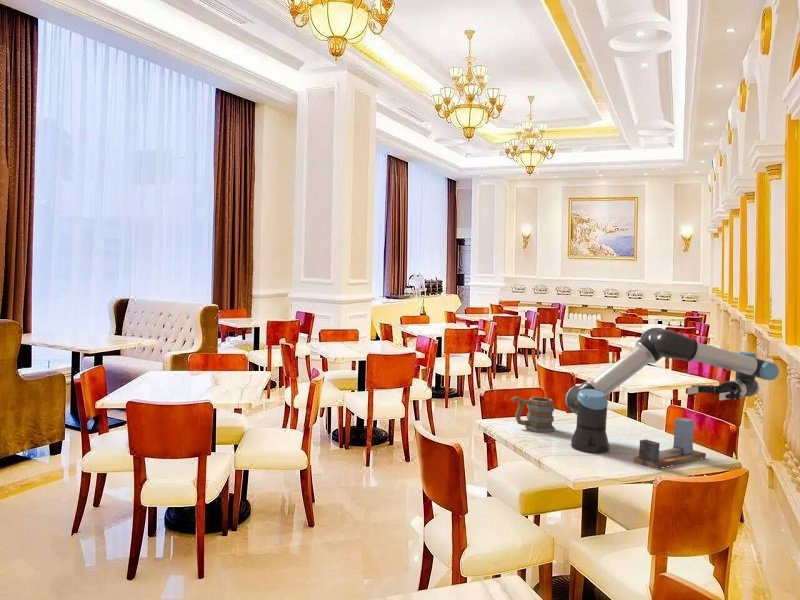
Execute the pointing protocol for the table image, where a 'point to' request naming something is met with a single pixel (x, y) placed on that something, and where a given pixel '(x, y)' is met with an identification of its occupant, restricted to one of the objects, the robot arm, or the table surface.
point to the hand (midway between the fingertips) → (703, 393)
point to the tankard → (536, 414)
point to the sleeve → (684, 435)
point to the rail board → (678, 460)
